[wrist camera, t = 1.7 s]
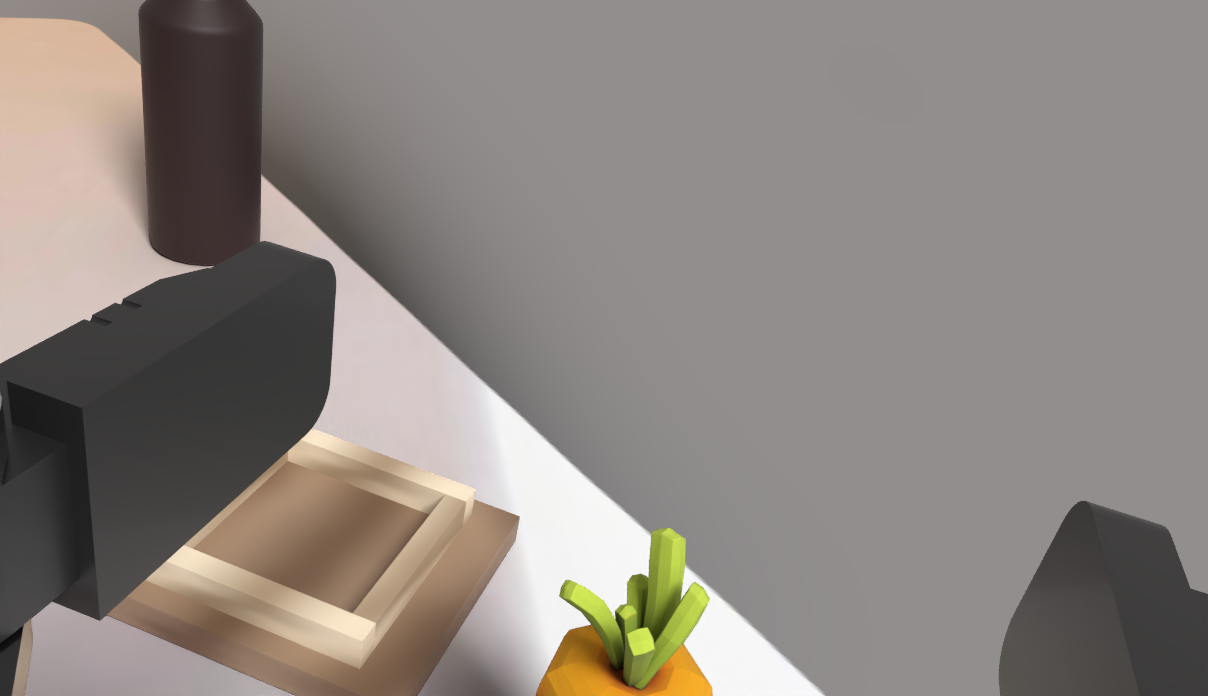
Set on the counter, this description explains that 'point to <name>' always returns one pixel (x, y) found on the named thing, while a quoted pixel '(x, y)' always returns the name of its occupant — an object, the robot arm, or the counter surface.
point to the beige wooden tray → (329, 574)
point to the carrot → (634, 635)
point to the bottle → (202, 126)
